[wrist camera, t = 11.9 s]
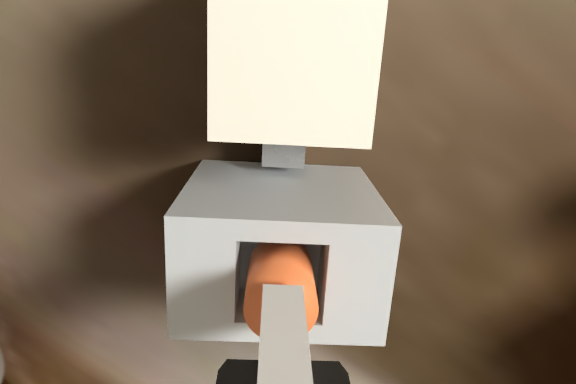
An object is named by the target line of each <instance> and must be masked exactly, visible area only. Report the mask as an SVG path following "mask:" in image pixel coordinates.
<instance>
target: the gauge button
mask: <svg viewBox="0 0 576 384" xmlns="http://www.w3.org/2000/svg"><path fill="white" fill-rule="evenodd" d="M263 284H275V285H302V286H303V291H304V300H305V310H306V319H307V328H308V332H309V331H310V330H311V329H312V327H313V326H314V324H315V322H316V320H317V317H318V313H319V305H318V299H317V293H316V287H315V280H314V274H313V268H312V262H311V257H310V254H309V251H308V250H307V248H306V247H305V246H304V245H303V244H291V243H267V242H260V243H259V244H258V245H257V246H256V247H255V248H254V250H253V251H252V253H251V256H250V260H249V268H248V275H247V283H246V290H245V298H244V306H243V314H244V318H245V321H246V323H247V325H248V326H249V328H250V329H251V330H252V331H253V332H254V333H255V334H256V335H258V336H259V337H260V325H261V309H262V292H263Z"/></svg>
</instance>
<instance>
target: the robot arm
mask: <svg viewBox="0 0 576 384" xmlns="http://www.w3.org/2000/svg"><path fill="white" fill-rule="evenodd" d="M216 384H350V380H349V376H348V373H347V371H346V370H345V369H344V367H343V366H342V365H341V364H340V362H338V361H311V356H310V347H309V338H308V328H307V319H306V310H305V300H304V291H303V286H302V285H275V284H263V292H262V309H261V325H260V342H259V359H258V360H237V359H227V360H226V361H225V362H224V364H223V365H222V366H221V368H220V369H219V370H218V375H217V380H216Z"/></svg>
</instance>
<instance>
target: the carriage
mask: <svg viewBox="0 0 576 384" xmlns="http://www.w3.org/2000/svg"><path fill="white" fill-rule="evenodd" d="M387 6H388V0H207V141H213V142H234V143H254V144H274V145H295V146H315V147H335V148H355V149H371V147H372V138H373V129H374V121H375V112H376V103H377V94H378V85H379V76H380V68H381V59H382V50H383V41H384V32H385V23H386V15H387Z"/></svg>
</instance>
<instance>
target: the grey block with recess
mask: <svg viewBox="0 0 576 384" xmlns="http://www.w3.org/2000/svg"><path fill="white" fill-rule="evenodd" d="M401 231H402V225H401V224H400V223H399V221H398V220H397V218H396V217H395V216H394V214H393V213H392V211H391V210H390V208H389V207H388V206H387V204H386V203H385V201H384V200H383V199H382V197H381V196H380V194H379V193H378V191H377V190H376V189H375V187H374V186H373V184H372V183H371V182H370V180H369V179H368V177H367V176H366V174H365V173H364V172H363V170H362V169H361V167H348V166H327V165H306V164H304V169H301V168H279V167H262V162H243V161H222V160H202V161H201V162H200V164H199V165H198V167H197V168H196V170H195V171H194V173H193V174H192V176H191V177H190V179H189V180H188V182H187V183H186V184H185V186H184V187H183V189H182V190H181V192H180V193H179V195H178V196H177V198H176V199H175V201H174V202H173V204H172V205H171V207H170V208H169V209H168V211H167V212H166V214H165V215H164V234H165V266H166V298H167V330H168V339H174V340H205V341H236V342H260V337H259V336H258V335H256V334H255V333H254V332H253V331H252V330H251V329H250V328H249V326H248V325H247V323H246V321H245V318H244V314H243V306H244V298H245V290H246V283H247V275H248V268H249V260H250V256H251V253H252V251H253V250H254V248H255V247H256V246H257V245H258V244H259V243H260V242H267V243H291V244H303V245H304V246H305V247H306V248H307V250H308V251H309V254H310V257H311V262H312V268H313V274H314V280H315V287H316V293H317V299H318V305H319V313H318V317H317V320H316V322H315V324H314V326H313V327H312V329H311V330H310V331H309V332H308V338H309V344H329V345H360V346H385V343H386V336H387V329H388V322H389V315H390V308H391V301H392V294H393V287H394V280H395V273H396V266H397V259H398V252H399V245H400V238H401Z"/></svg>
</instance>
